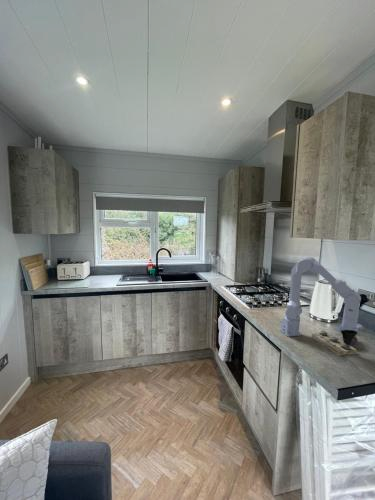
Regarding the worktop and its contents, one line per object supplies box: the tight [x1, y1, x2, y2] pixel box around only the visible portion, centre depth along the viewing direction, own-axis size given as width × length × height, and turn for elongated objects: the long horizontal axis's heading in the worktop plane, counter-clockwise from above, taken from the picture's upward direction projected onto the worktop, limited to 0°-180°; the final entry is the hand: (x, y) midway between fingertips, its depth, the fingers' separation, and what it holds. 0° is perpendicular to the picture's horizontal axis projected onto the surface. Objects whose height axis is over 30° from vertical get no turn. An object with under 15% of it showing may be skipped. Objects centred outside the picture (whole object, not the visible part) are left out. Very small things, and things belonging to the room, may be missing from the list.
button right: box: [342, 344, 350, 350], centre depth 107 cm, size 3×3×2 cm
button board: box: [311, 332, 357, 357], centre depth 114 cm, size 10×17×2 cm, turn 14°
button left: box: [320, 330, 328, 336], centre depth 120 cm, size 3×3×2 cm
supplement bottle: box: [340, 332, 359, 347], centre depth 116 cm, size 6×6×11 cm
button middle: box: [331, 336, 339, 343], centre depth 114 cm, size 3×3×2 cm
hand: (346, 343), depth 107 cm, fingers closed
